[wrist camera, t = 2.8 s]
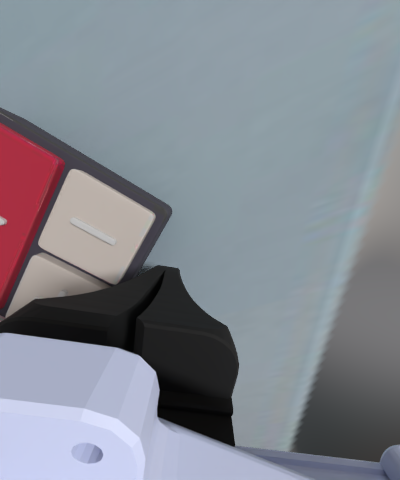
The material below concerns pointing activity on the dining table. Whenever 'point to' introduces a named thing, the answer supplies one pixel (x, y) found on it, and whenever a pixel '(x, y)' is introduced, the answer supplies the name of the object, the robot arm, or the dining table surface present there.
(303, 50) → the dining table surface
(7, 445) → the robot arm
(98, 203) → the calculator
